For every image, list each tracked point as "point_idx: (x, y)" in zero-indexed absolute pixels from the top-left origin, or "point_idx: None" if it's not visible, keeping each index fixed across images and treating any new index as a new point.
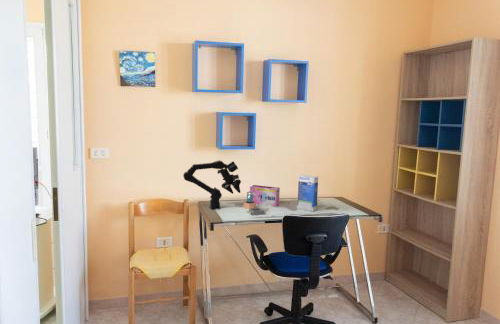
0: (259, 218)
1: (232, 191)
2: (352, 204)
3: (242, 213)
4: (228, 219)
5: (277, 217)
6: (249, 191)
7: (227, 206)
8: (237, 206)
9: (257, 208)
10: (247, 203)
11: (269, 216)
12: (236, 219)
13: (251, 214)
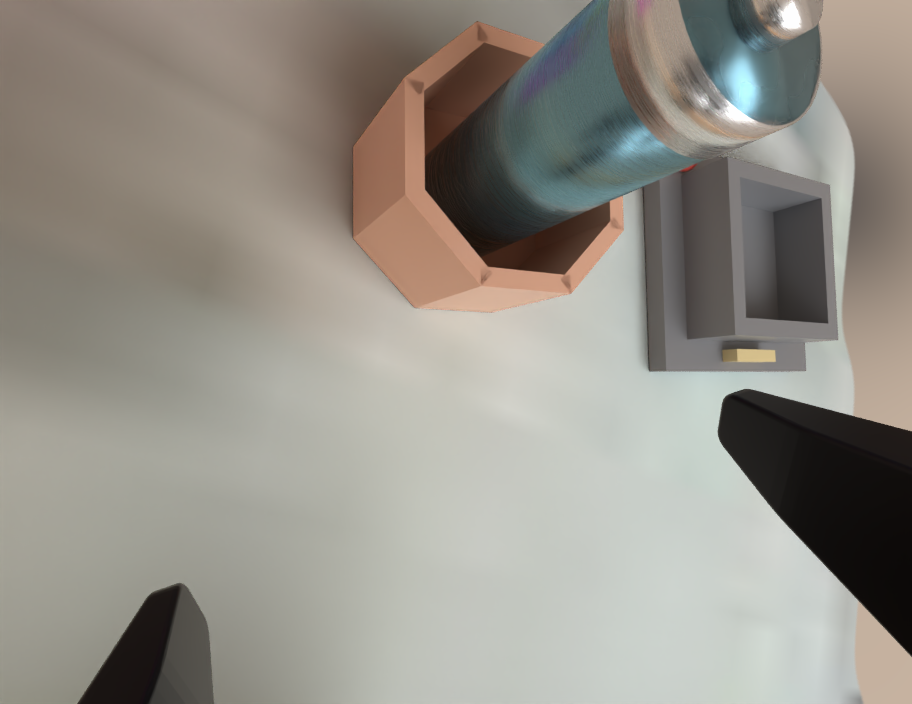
0: None
1: (171, 699)
2: None
3: (660, 437)
4: (820, 682)
5: (830, 109)
6: (809, 22)
7: (119, 621)
8: (197, 365)
9: (738, 200)
10: (598, 259)
11: (798, 165)
12: (829, 584)
13: (777, 358)
